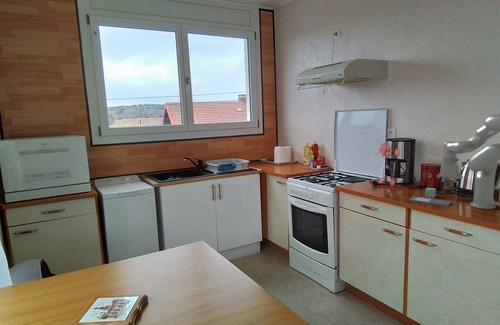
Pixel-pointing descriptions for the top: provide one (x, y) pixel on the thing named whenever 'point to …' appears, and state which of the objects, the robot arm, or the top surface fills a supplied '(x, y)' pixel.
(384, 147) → the pink flower sprig
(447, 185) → the walnut cube
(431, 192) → the green cube
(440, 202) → the baseplate
